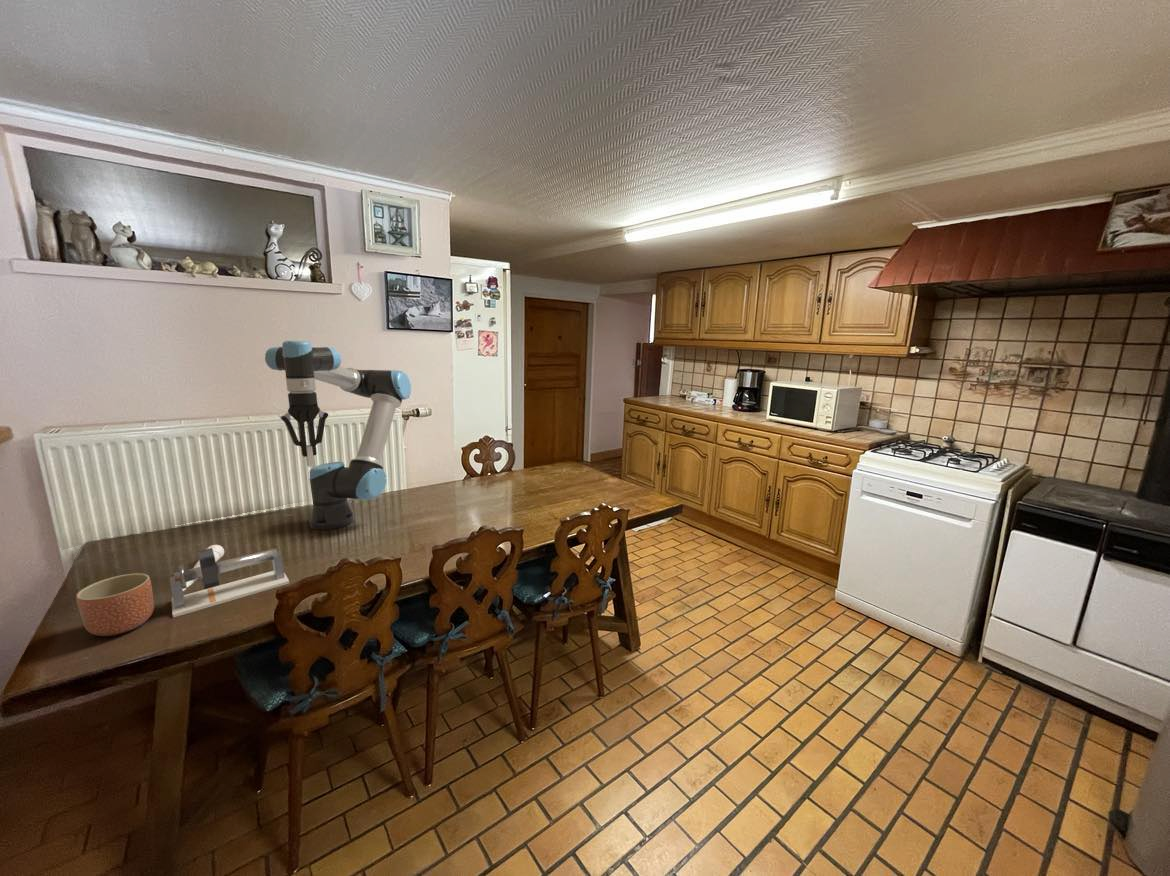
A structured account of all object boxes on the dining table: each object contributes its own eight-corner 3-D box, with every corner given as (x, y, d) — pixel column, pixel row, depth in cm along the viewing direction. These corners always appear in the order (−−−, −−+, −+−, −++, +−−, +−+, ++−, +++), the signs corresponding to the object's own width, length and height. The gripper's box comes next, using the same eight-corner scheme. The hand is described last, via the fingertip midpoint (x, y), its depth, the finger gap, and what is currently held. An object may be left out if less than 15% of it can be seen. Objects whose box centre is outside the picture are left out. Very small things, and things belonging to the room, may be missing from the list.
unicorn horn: (162, 597, 124) (159, 580, 123) (208, 558, 146) (206, 544, 145) (183, 594, 125) (180, 578, 124) (226, 557, 147) (224, 543, 146)
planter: (73, 636, 107) (63, 593, 105) (139, 608, 118) (131, 569, 116) (103, 648, 102) (93, 604, 100) (169, 618, 114) (161, 578, 112)
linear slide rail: (174, 603, 120) (167, 565, 118) (281, 573, 136) (277, 539, 134) (175, 613, 116) (167, 573, 114) (285, 581, 132) (281, 545, 130)
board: (172, 601, 121) (171, 598, 121) (282, 570, 138) (282, 568, 138) (173, 617, 114) (172, 614, 114) (289, 583, 131) (289, 580, 131)
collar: (202, 579, 124) (197, 551, 122) (216, 575, 126) (212, 548, 124) (204, 589, 119) (199, 560, 117) (219, 585, 121) (214, 556, 119)
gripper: (279, 394, 133) (289, 471, 138) (328, 391, 142) (336, 464, 147) (274, 392, 139) (284, 467, 143) (322, 389, 147) (330, 460, 152)
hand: (310, 465), depth 145 cm, fingers closed
